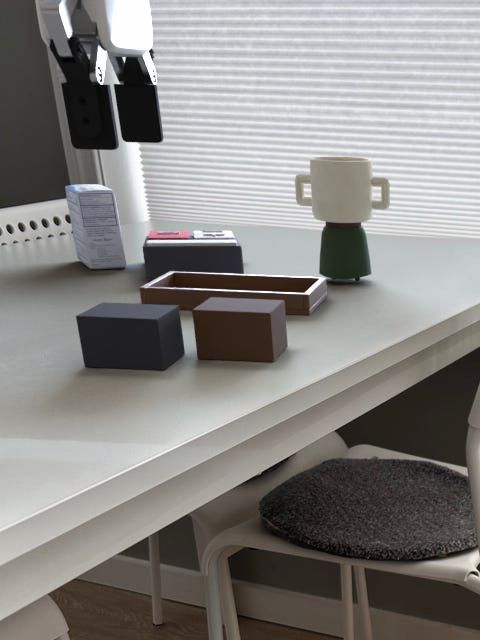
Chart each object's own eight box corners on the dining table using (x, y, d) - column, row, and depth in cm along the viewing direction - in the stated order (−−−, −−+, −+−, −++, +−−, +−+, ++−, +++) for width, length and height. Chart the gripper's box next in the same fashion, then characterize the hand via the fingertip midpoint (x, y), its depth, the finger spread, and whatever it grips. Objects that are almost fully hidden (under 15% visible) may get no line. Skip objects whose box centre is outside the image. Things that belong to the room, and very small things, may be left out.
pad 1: (84, 367, 77) (75, 315, 75) (110, 350, 81) (102, 302, 79) (164, 370, 76) (157, 319, 74) (185, 353, 81) (179, 305, 79)
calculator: (234, 228, 122) (241, 238, 109) (238, 264, 124) (244, 278, 111) (145, 228, 119) (141, 239, 106) (150, 265, 121) (146, 280, 108)
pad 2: (197, 359, 80) (191, 309, 78) (215, 343, 85) (210, 296, 83) (273, 362, 80) (270, 313, 78) (287, 346, 84) (284, 299, 82)
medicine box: (127, 268, 115) (115, 190, 111) (89, 270, 113) (75, 190, 109) (113, 258, 121) (101, 183, 117) (76, 260, 119) (63, 184, 115)
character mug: (395, 277, 116) (394, 158, 109) (385, 288, 110) (383, 162, 103) (307, 273, 116) (301, 154, 110) (293, 283, 110) (285, 158, 104)
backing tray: (141, 308, 96) (139, 287, 95) (172, 290, 105) (169, 271, 104) (310, 315, 96) (308, 294, 95) (327, 296, 104) (326, 277, 103)
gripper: (73, -122, 70) (114, 139, 79) (-46, -178, 55) (19, 151, 64) (174, -120, 70) (203, 141, 79) (81, -175, 55) (129, 154, 64)
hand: (121, 145), depth 71 cm, fingers open, 9 cm apart
